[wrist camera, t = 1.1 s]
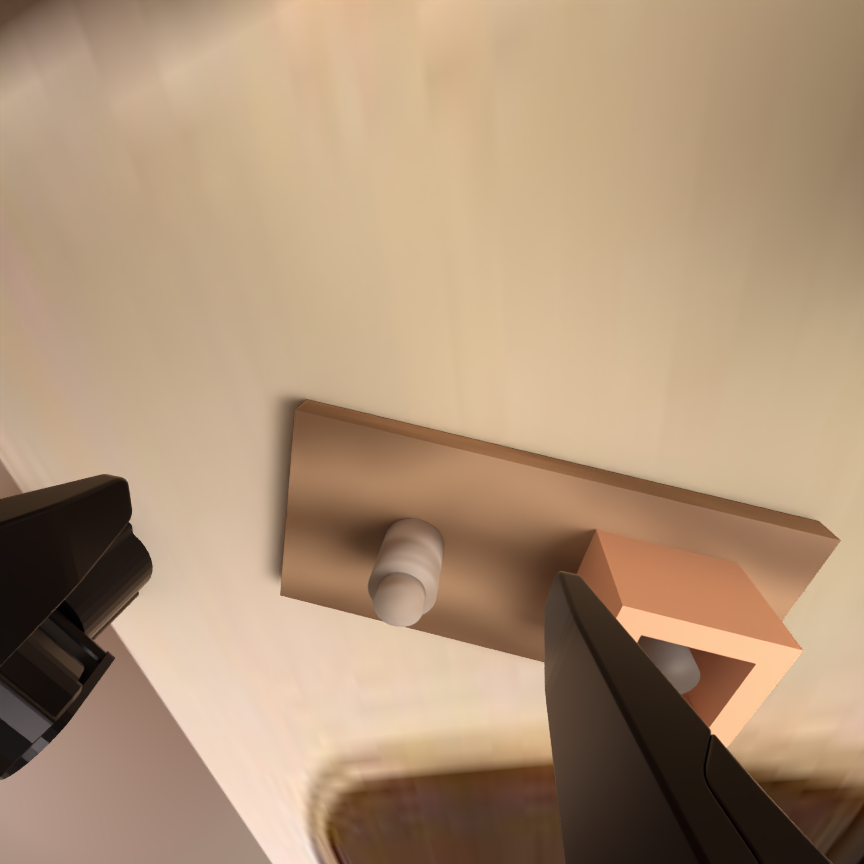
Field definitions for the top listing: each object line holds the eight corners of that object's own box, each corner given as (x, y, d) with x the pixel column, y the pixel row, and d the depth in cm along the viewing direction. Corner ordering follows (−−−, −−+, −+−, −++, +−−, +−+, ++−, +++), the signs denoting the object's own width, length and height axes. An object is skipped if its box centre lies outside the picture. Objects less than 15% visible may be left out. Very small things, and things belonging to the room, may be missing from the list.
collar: (677, 661, 25) (718, 757, 20) (551, 630, 25) (564, 718, 20) (738, 563, 22) (803, 650, 17) (596, 529, 22) (622, 605, 17)
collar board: (708, 682, 27) (762, 796, 21) (290, 577, 28) (241, 661, 22) (819, 521, 22) (926, 615, 16) (306, 399, 23) (247, 450, 17)
